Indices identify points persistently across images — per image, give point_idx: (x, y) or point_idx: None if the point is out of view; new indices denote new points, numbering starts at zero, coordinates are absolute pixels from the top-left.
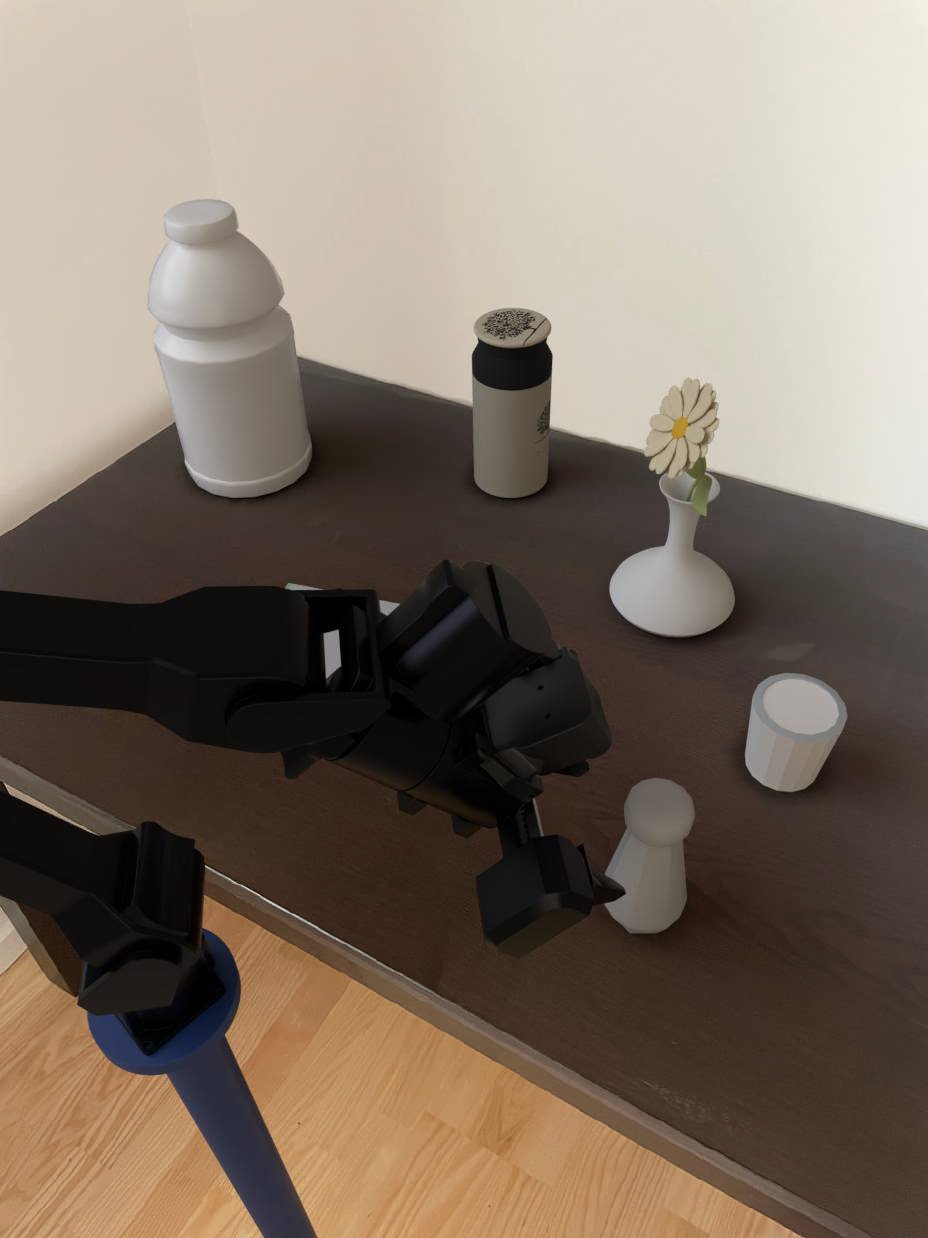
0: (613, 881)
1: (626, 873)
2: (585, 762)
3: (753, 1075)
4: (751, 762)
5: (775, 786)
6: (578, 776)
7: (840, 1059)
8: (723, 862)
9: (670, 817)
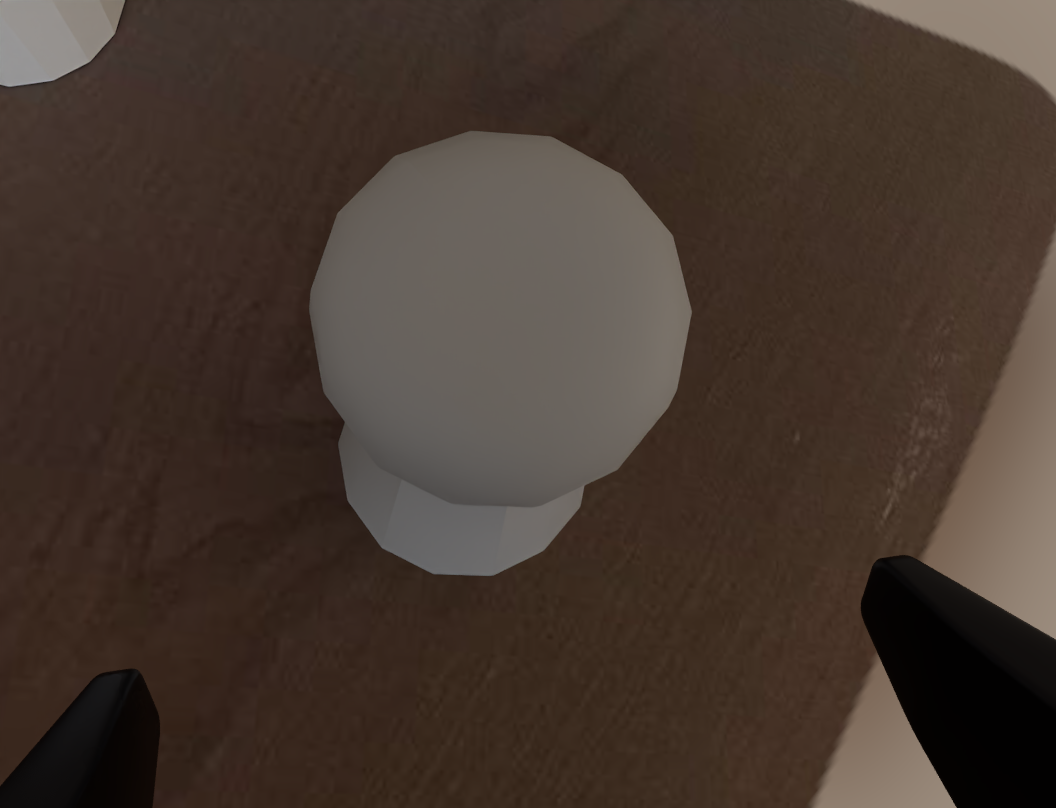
0: (976, 629)
1: (543, 507)
2: (96, 705)
3: (852, 285)
4: (13, 56)
5: (104, 28)
6: (157, 727)
7: (808, 113)
8: (332, 223)
9: (631, 258)
